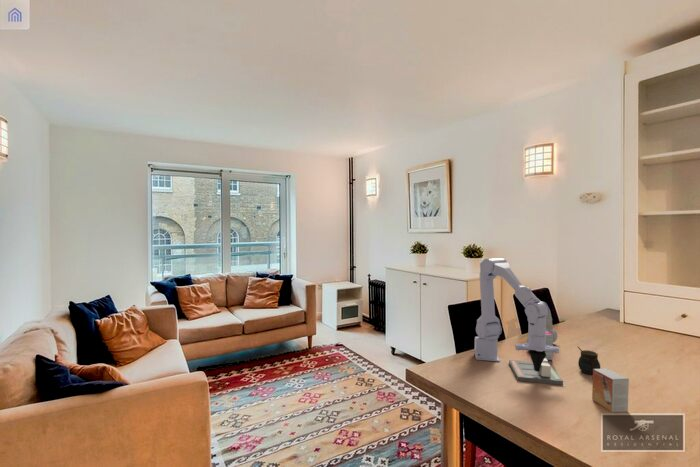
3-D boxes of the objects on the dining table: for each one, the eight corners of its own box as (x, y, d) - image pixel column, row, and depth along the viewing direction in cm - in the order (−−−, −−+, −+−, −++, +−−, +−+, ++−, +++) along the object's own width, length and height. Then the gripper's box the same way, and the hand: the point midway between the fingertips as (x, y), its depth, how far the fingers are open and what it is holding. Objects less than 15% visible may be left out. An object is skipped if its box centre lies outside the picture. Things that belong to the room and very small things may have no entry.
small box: (591, 400, 115) (592, 368, 115) (607, 399, 116) (607, 367, 116) (611, 412, 107) (612, 379, 107) (628, 412, 108) (629, 378, 108)
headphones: (539, 340, 176) (539, 302, 175) (558, 344, 170) (558, 304, 169) (526, 350, 161) (526, 309, 161) (546, 355, 155) (546, 312, 155)
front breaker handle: (541, 376, 129) (541, 365, 129) (539, 373, 132) (539, 362, 132) (550, 377, 128) (550, 366, 128) (548, 373, 131) (548, 363, 131)
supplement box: (553, 361, 148) (553, 334, 148) (538, 360, 149) (538, 333, 149) (548, 356, 154) (548, 330, 154) (533, 355, 155) (533, 329, 155)
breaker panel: (517, 380, 130) (517, 376, 130) (509, 363, 146) (509, 359, 146) (562, 385, 126) (562, 380, 126) (548, 366, 142) (548, 362, 142)
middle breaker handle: (539, 370, 134) (539, 360, 134) (537, 367, 137) (537, 357, 137) (547, 371, 134) (547, 360, 133) (545, 368, 136) (545, 358, 136)
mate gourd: (604, 377, 132) (604, 351, 132) (582, 376, 134) (582, 350, 134) (594, 369, 140) (594, 344, 139) (574, 368, 141) (574, 344, 141)
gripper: (518, 336, 128) (518, 372, 129) (562, 339, 125) (561, 376, 125) (514, 330, 135) (514, 365, 135) (555, 333, 132) (555, 368, 132)
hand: (536, 370), depth 131 cm, fingers closed
